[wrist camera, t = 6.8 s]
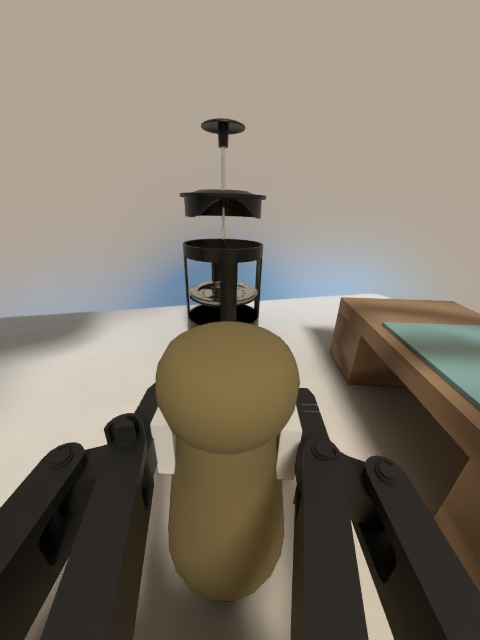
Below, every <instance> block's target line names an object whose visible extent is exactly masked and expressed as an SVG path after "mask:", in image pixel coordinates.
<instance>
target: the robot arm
mask: <svg viewBox="0 0 480 640" xmlns="http://www.w3.org/2000/svg"><path fill="white" fill-rule="evenodd" d="M104 432H105V436H106V439H107V443H108V444H107V445H103V446H100V447H96V448H91V449H87V450H84V448H83V447H82V445H81V444H79V443H75V442H73V443H66V444H63V445H60V446H58V447H56V448H55V449H53V450H51V451H50V452H49V453H48V454H47V455H46V456H45V457H44V458H43V459H42V460H41V461H40V462H39V463H38V465H37V466H36V467H35V468H34V469H33V470H32V472H31V473H30V474H29V475H28V476H27V477H26V479H25V480H24V481H23V482H22V483H21V484H20V486H19V487H18V488H17V489H16V490H15V491H14V493H13V494H12V495H11V496H10V497H9V498H8V500H7V501H6V502H5V503H4V504H3V505H2V507H1V508H0V640H24V639H25V637H26V635H27V633H28V631H29V629H30V628H31V626H32V624H33V622H34V620H35V618H36V617H37V615H38V613H39V611H40V609H41V607H42V605H43V604H44V602H45V600H46V598H47V596H48V594H49V593H50V591H51V589H52V587H53V585H54V583H55V581H56V580H57V578H58V576H59V574H60V572H61V570H62V569H63V567H64V565H65V563H66V561H67V559H68V557H69V559H68V562H67V564H66V567H65V570H64V573H63V576H62V579H61V582H60V584H59V587H58V590H57V593H56V596H55V599H54V602H53V604H52V607H51V610H50V613H49V616H48V619H47V622H46V624H45V627H44V630H43V633H42V636H41V639H40V640H133V634H134V627H135V619H136V612H137V605H138V598H139V590H140V583H141V576H142V568H143V561H144V554H145V547H146V539H147V532H148V525H149V517H150V510H151V503H152V496H153V488H154V479H153V475H154V472H155V469H156V466H157V468H158V473H163V474H174V470H175V446H176V435H175V434H173V433H172V431H171V430H170V428H169V426H168V424H167V422H166V420H165V418H164V416H163V414H162V413H161V411H160V409H159V407H158V404H157V398H156V383H154V384H153V385H152V386H151V387H150V388H148V389H147V391H146V393H145V395H144V397H143V399H142V400H141V402H140V405H139V406H138V407H137V409H136V411H135V413H127V414H122V415H119V416H117V417H115V418H113V419H112V420H111V421H110V422H109V423H107V425H106V426H105V428H104ZM276 472H277V479H288V480H293V479H294V474H295V476H296V481H297V486H296V491H295V496H294V501H293V504H295V517H294V548H293V580H292V611H291V640H368V633H367V626H366V620H365V613H364V606H363V600H362V593H361V586H360V579H359V573H358V566H357V559H356V553H355V546H354V539H353V532H352V526H351V521H352V523H353V526H354V529H355V532H356V534H357V537H358V540H359V543H360V546H361V548H362V551H363V554H364V557H365V559H366V562H367V565H368V568H369V571H370V573H371V576H372V579H373V582H374V584H375V587H376V590H377V593H378V595H379V598H380V601H381V604H382V607H383V609H384V612H385V615H386V618H387V620H388V623H389V626H390V629H391V632H392V634H393V637H394V640H480V592H479V590H478V588H477V587H476V585H475V584H474V582H473V580H472V579H471V577H470V576H469V574H468V572H467V571H466V569H465V568H464V566H463V564H462V563H461V561H460V560H459V558H458V556H457V555H456V553H455V552H454V550H453V548H452V547H451V545H450V544H449V542H448V541H447V539H446V537H445V536H444V534H443V533H442V531H441V529H440V528H439V526H438V525H437V523H436V521H435V520H434V518H433V517H432V515H431V513H430V512H429V510H428V509H427V507H426V505H425V504H424V502H423V501H422V499H421V497H420V496H419V494H418V493H417V491H416V489H415V488H414V486H413V485H412V483H411V482H410V480H409V478H408V477H407V475H406V474H405V472H404V471H403V470H402V469H401V467H400V466H398V465H397V464H396V463H395V462H393V461H392V460H390V459H387V458H385V457H382V456H371V457H369V458H368V459H367V460H366V462H364V461H361V460H358V459H355V458H352V457H349V456H347V455H345V454H343V453H341V452H340V451H339V449H338V448H337V447H336V446H335V444H333V443H332V442H331V441H330V439H329V436H328V434H327V431H326V428H325V425H324V422H323V419H322V416H321V414H320V412H319V408H318V406H317V402H316V399H315V396H314V395H313V394H312V393H311V392H310V390H309V389H308V388H299V390H298V395H297V400H296V405H295V410H294V412H293V414H292V416H291V418H290V420H289V422H288V423H287V424H286V426H285V427H284V428H283V430H282V431H281V432H280V434H279V435H278V443H277V464H276Z"/></svg>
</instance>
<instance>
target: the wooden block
mask: <svg viewBox="0 0 480 640" xmlns="http://www.w3.org/2000/svg"><path fill="white" fill-rule="evenodd" d="M330 353H331V355H332V357H333V358H334V360H335V362H336V364H337V365H338V367H339V369H340V371H341V372H342V374H343V376H344V378H345V379H346V381H347V383H348V384H355V385H380V386H405V387H407V388H408V389H409V390H410V391H411V392H412V393H413V394H414V395H415V397H416V398H417V399H418V400H419V401H420V402H421V403H422V404H423V406H424V407H425V408H426V409H427V410H428V411H429V412H430V413H431V415H432V416H433V417H434V418H435V419H436V420H437V421H438V422H439V424H440V425H441V426H442V427H443V428H444V429H445V430H446V431H447V433H448V434H449V435H450V436H451V437H452V438H453V439H454V440H455V442H456V443H457V444H458V445H459V446H460V447H461V448H462V449H463V451H464V452H465V453H466V454H467V455H468V456H469V457H470V459H469V461H468V462H467V464H466V465H465V467H464V469H463V470H462V472H461V474H460V475H459V477H458V479H457V480H456V482H455V484H454V485H453V487H452V489H451V490H450V492H449V494H448V495H447V497H446V499H445V500H444V502H443V504H442V505H441V507H440V509H439V510H438V512H437V514H436V515H435V517H434V520H435V521H436V523H437V525H438V526H439V528H440V529H441V531H442V533H443V534H444V536H445V537H446V539H447V541H448V542H449V544H450V545H451V547H452V548H453V550H454V552H455V553H456V555H457V556H458V558H459V560H460V561H461V563H462V564H463V566H464V568H465V569H466V571H467V572H468V574H469V576H470V577H471V579H472V580H473V582H474V584H475V585H476V587H477V588H478V590H479V592H480V314H479V313H477V312H475V311H473V310H470V309H468V308H466V307H464V306H462V305H459V304H457V303H455V302H453V301H431V300H401V299H373V298H344V297H341V301H340V306H339V311H338V315H337V320H336V325H335V330H334V335H333V340H332V345H331V349H330Z"/></svg>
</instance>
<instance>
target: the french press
mask: <svg viewBox="0 0 480 640" xmlns="http://www.w3.org/2000/svg"><path fill="white" fill-rule="evenodd" d="M201 128H202V129H203V130H205V131H208V132H211V133H216V134H218V139H219V140H218V142H219V148H221V152H222V155H221V156H222V159H221V160H222V190H198V191H195V192H192V193H180V197H184V201H185V215H186V216H188V217H195V216H201V215H202V216H210V215H211V216H222V239H198V240H190V241H186V242H184V243H183V252H184V267H185V282H186V297H187V312H188V327H189V330H190V329H192V328H195V327H197V326H200V325H204V324H208V323H213V322H223V321H228V322H242V323H248V324H253V325H256V326H258V318H259V302H260V285H261V270H262V253H263V244H262V243H259V242H255V241H248V240H238V239H225V216H242V217H255V218H261V201H262V200H265V199H266V196H262V195H254V194H251V193H249V192H247V191H238V190H225V148H228V134H237V133H241V132H243V131H244V130H245V126H244V125H243V124H242V123H240V122H238V121H235V120H231V119H223V118H219V119H211V120H207V121H205V122H203V123H202V124H201ZM186 258H188V259H191V260H196V261H202V262H212V282H207V283H202V284H198V285H196V286H193V287H192V288H190V289H189V291H188V275H187V259H186ZM255 260H257V266H256V286H255V287H256V288H254V287H252V286H250V285H247V284H243V283H238V282H237V266H238V265H237V264H238V263H239V262H249V261H255ZM189 294H190V298H191V299H192V300H193V301H195V302H197V303H199V304H202V305H199V306H197V307H195V308H193V309H192V310H190V307H189ZM254 300H255V304H254V308H252V307H250V306H247V305H245V304H248V303H250V302H252V301H254Z"/></svg>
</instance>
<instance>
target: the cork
mask: <svg viewBox="0 0 480 640" xmlns="http://www.w3.org/2000/svg"><path fill="white" fill-rule="evenodd" d="M299 384H300V380H299V373H298V368H297V364H296V361H295V358H294V356H293V354H292V352H291V350H290V349H289V347H288V345H287V344H286V343H285V342H284V341H283V340H282V339H281V338H280V337H278V336H277V335H275V334H273V333H272V332H270V331H268V330H266V329H264V328H261V327H259V326H256V325H253V324H248V323H242V322H228V321H223V322H213V323H208V324H204V325H200V326H197V327H195V328H192V329H190V330H188V331H186V332H184V333H181V334H180V335H179V336H177V337H176V338H175V339H174V340H172V341H171V342H170V344H169V345H168V347H167V349H166V351H165V352H164V354H163V356H162V358H161V359H160V361H159V363H158V366H157V373H156V398H157V404H158V407H159V409H160V411H161V413H162V414H163V416H164V418H165V420H166V422H167V424H168V426H169V428H170V430H171V431H172V433H173V434H175V435H176V446H175V470H174V474H172V482H171V497H170V511H169V525H168V531H169V551H170V554H171V557H172V560H173V563H174V566H175V569H176V571H177V573H178V574H179V575H180V576H181V578H182V579H183V580H184V581H185V583H186V584H187V585H188V587H189V588H190V589H191V590H193V591H195V592H197V593H198V594H200V595H202V596H204V597H206V598H208V599H209V600H220V601H234V600H237V599H239V598H242V597H244V596H246V595H249V594H251V593H254V592H255V591H256V590H257V589H258V588H259V587H260V586H261V585H262V584H263V583H264V582H265V581H266V580H267V579H268V578H269V577H270V576H271V574H272V572H273V570H274V568H275V566H276V563H277V561H278V559H279V557H280V555H281V550H282V544H283V537H284V516H283V495H282V479H277V472H276V464H277V443H278V435H279V434H280V432H281V431H282V430H283V428H284V427H285V426H286V424H287V423H288V422H289V420H290V418H291V416H292V414H293V412H294V410H295V405H296V400H297V395H298V390H299Z"/></svg>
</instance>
